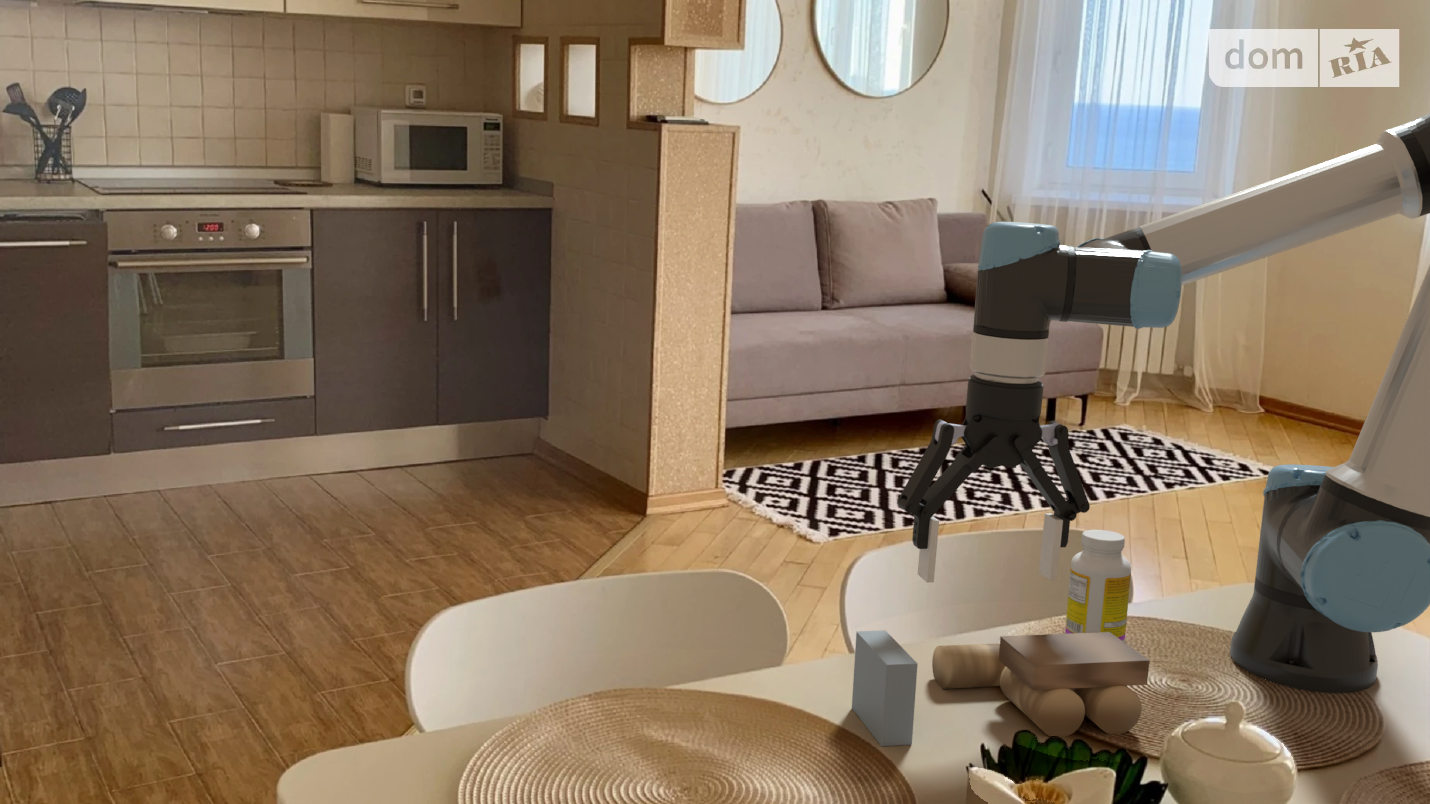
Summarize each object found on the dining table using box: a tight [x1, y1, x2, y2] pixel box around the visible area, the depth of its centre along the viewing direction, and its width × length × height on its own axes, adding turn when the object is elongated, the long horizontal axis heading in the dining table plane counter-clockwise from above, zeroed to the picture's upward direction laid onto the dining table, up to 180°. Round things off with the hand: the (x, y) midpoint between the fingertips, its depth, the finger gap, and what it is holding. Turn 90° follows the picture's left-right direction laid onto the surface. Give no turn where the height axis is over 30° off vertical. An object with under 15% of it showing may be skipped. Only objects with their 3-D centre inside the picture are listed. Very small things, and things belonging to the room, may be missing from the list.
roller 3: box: [1070, 686, 1143, 735], centre depth 140 cm, size 9×5×5 cm, turn 12°
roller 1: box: [931, 642, 1005, 690], centre depth 147 cm, size 10×4×4 cm, turn 102°
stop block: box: [851, 629, 918, 747], centre depth 135 cm, size 3×9×8 cm, turn 12°
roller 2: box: [999, 666, 1086, 738], centre depth 139 cm, size 9×5×5 cm, turn 12°
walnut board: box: [999, 632, 1150, 690], centre depth 139 cm, size 12×8×2 cm, turn 102°
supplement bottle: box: [1064, 529, 1132, 643], centre depth 160 cm, size 7×7×13 cm
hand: (987, 577), depth 146 cm, fingers open, 13 cm apart
